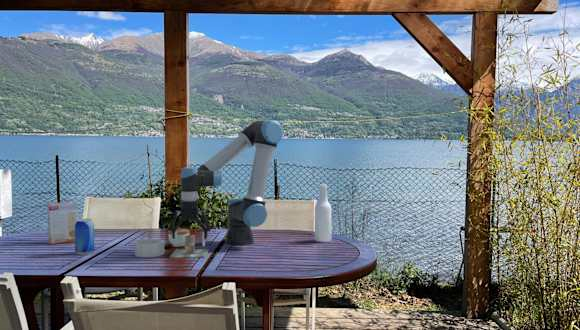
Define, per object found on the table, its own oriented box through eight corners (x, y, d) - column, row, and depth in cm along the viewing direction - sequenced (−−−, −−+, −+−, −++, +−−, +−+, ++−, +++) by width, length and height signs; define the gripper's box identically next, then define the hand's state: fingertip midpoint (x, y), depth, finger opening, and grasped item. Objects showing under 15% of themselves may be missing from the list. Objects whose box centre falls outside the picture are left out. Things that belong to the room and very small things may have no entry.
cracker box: (76, 240, 288) (75, 201, 287) (78, 242, 283) (78, 202, 282) (48, 243, 280) (47, 203, 279) (50, 245, 275) (49, 204, 274)
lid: (209, 251, 262) (209, 232, 261) (204, 259, 246) (204, 239, 245) (176, 251, 261) (176, 232, 261) (169, 259, 245) (169, 239, 245)
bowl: (166, 251, 260) (166, 238, 259) (160, 257, 247) (160, 244, 246) (139, 251, 260) (139, 238, 259) (131, 257, 247) (131, 244, 246)
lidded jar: (184, 248, 267) (184, 229, 266) (164, 247, 269) (164, 228, 269) (193, 244, 277) (192, 225, 277) (173, 243, 280) (173, 225, 279)
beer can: (98, 252, 257) (97, 219, 257) (86, 256, 249) (85, 221, 249) (83, 251, 260) (83, 218, 259) (71, 254, 252) (70, 220, 251)
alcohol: (312, 239, 288) (312, 184, 286) (327, 239, 291) (327, 183, 289) (318, 243, 280) (318, 185, 278) (333, 242, 282) (334, 185, 281)
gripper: (216, 199, 256) (216, 243, 257) (165, 199, 256) (165, 244, 257) (214, 201, 249) (214, 247, 250) (161, 201, 248) (162, 247, 249)
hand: (189, 245), depth 253 cm, fingers open, 12 cm apart
